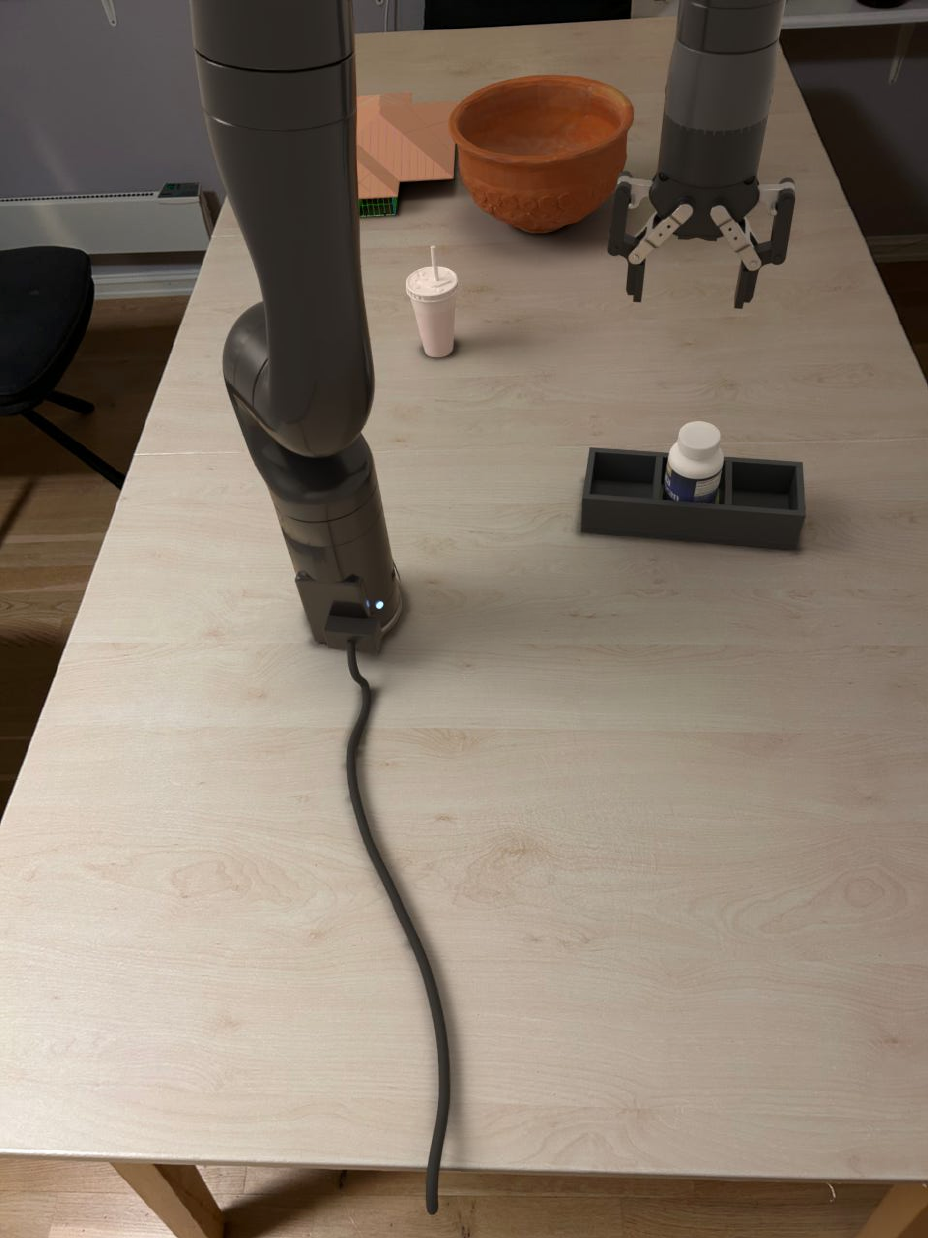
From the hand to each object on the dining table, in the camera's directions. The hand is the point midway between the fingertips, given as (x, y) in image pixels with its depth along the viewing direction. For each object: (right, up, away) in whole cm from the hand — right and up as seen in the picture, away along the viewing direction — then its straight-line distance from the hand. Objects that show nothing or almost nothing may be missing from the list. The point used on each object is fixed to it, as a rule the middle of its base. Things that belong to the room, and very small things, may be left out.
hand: (687, 300), depth 81 cm
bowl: (-8, +31, +56) cm, 65 cm away
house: (-32, +45, +70) cm, 89 cm away
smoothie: (-23, +7, +39) cm, 45 cm away
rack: (+4, -17, +18) cm, 25 cm away
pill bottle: (+4, -16, +17) cm, 24 cm away
